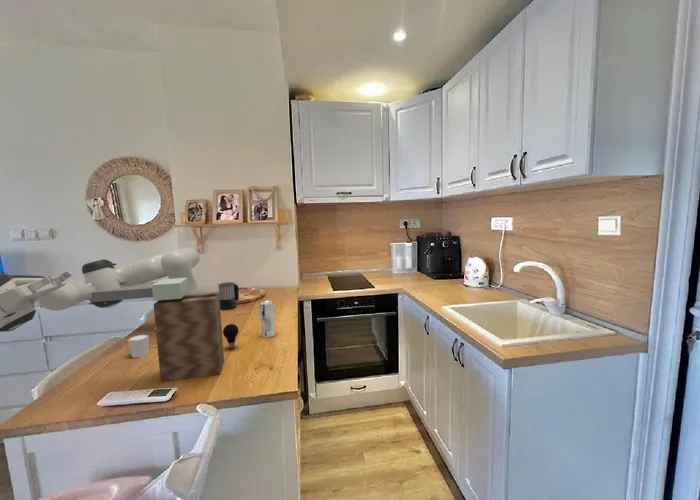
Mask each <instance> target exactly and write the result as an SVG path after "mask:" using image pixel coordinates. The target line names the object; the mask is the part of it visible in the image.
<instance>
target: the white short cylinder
mask: <svg viewBox="0 0 700 500" xmlns="http://www.w3.org/2000/svg"><path fill="white" fill-rule="evenodd" d="M127 341H128V345H129V350H130V354H131V355H130V356H131V358H134V359H135V358H136V359H137V358H142V357H146V356H148V355H149V351H150V349H149V348H150V336H149V334H138V335H134V336H131V337H129V338H128V339H127Z"/></svg>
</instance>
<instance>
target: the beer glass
mask: <svg viewBox="0 0 700 500" xmlns="http://www.w3.org/2000/svg"><path fill="white" fill-rule="evenodd" d="M275 307H276V306H275V301H274V300H263V301H260V302H259V303H258V316H259V322H260V326H261V335H260V336H261V337H262V338H263V339H264V338H265V339H269V338H273V337H275V335H276V331H275V320H276V319H275V318H276V308H275Z"/></svg>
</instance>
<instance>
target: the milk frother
mask: <svg viewBox="0 0 700 500" xmlns="http://www.w3.org/2000/svg"><path fill="white" fill-rule="evenodd" d="M217 286H218V292H219V298H220V311H230V310H231V311H232V310H233V309H236V308H237V305H236V302H238V301H239V300H240V299H239V298H240V297H239V294H240V292H239V285H238V284H236V283H235V282H229V281H228V282H226V281H225V282H221V283H218V284H217Z"/></svg>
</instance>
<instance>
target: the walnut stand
mask: <svg viewBox="0 0 700 500" xmlns="http://www.w3.org/2000/svg"><path fill="white" fill-rule="evenodd" d="M153 311H154V312H153V314H154V324H155V327H156V330H155V334H156V345H157V355H158V365H159V366H158V368H159V375H160V376H159V377H160V383H166V382H175V381H181V380H189V379H195V378H202V377H210V376H216V375H221V372H222V370H223V366H224V362H225V359H224V358H225V356H224V354H225V353H224V343H223V328H222V316H221V315H222V313H221V310H220V298H219V291H218V292H207V293H205V292H204V293H197V294H191V295H184V296H183V297H182V298H180V299H168V300H156V302H155V303H153Z"/></svg>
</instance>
